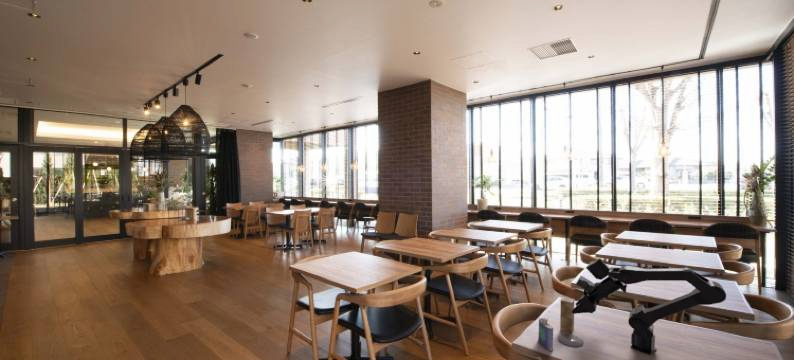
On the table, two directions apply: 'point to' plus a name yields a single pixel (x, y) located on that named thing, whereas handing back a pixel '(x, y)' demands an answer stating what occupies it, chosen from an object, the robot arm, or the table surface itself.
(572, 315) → the walnut block
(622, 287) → the robot arm
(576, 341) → the slate coaster
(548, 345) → the flask
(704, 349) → the table surface
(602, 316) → the table surface
